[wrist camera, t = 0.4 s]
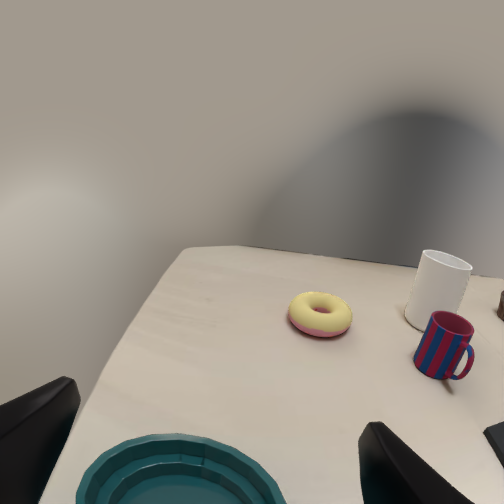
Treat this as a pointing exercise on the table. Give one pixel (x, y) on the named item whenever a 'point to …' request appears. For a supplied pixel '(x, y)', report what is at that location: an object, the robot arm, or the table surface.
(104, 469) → the bowl
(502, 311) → the cupcake
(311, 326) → the donut
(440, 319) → the cup
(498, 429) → the mat
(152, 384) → the table surface
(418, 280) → the mug
